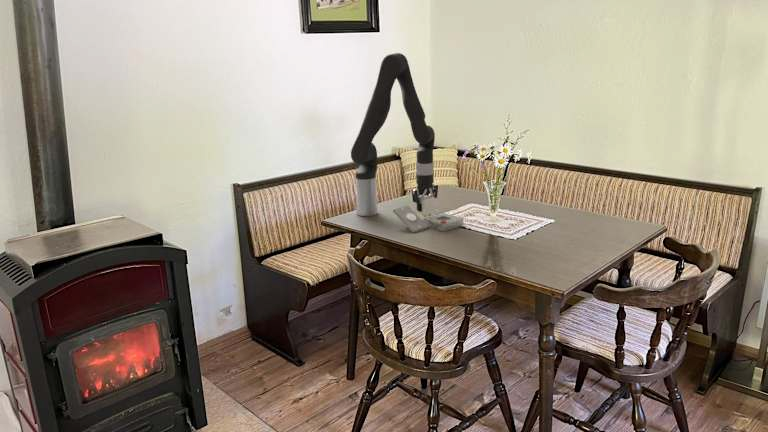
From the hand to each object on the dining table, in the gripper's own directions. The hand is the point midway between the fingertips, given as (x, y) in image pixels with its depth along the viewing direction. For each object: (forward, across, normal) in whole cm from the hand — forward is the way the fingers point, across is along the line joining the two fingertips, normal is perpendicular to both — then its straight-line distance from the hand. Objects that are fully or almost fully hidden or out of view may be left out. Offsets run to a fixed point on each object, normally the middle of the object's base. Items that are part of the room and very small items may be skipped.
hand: (425, 209), depth 257 cm
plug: (+3, 0, 0) cm, 3 cm away
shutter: (+2, 0, +11) cm, 12 cm away
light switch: (+5, +12, +4) cm, 13 cm away
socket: (+4, 0, +11) cm, 12 cm away
